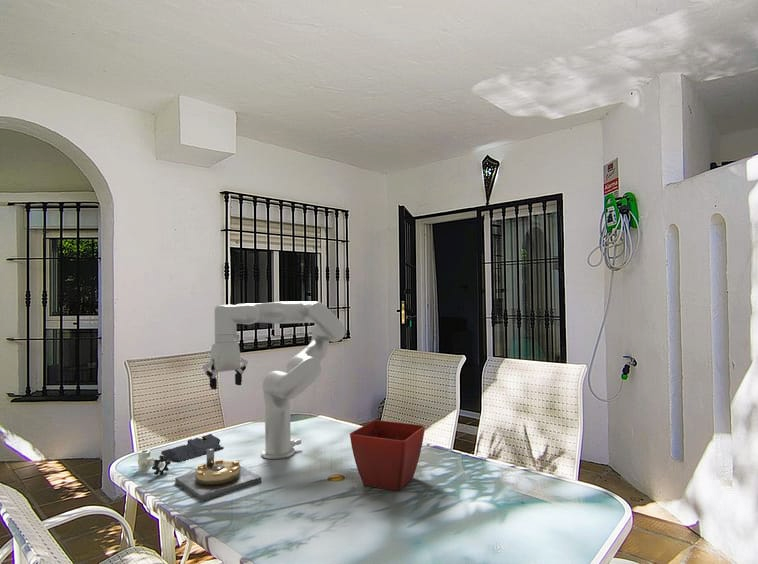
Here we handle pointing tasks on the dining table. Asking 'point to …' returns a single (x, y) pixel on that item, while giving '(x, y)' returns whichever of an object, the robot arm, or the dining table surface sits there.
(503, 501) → the dining table surface
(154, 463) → the valve
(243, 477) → the housing
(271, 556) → the dining table surface
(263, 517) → the dining table surface
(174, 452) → the dark slate chunk
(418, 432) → the plant pot
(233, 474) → the brass crank wheel
